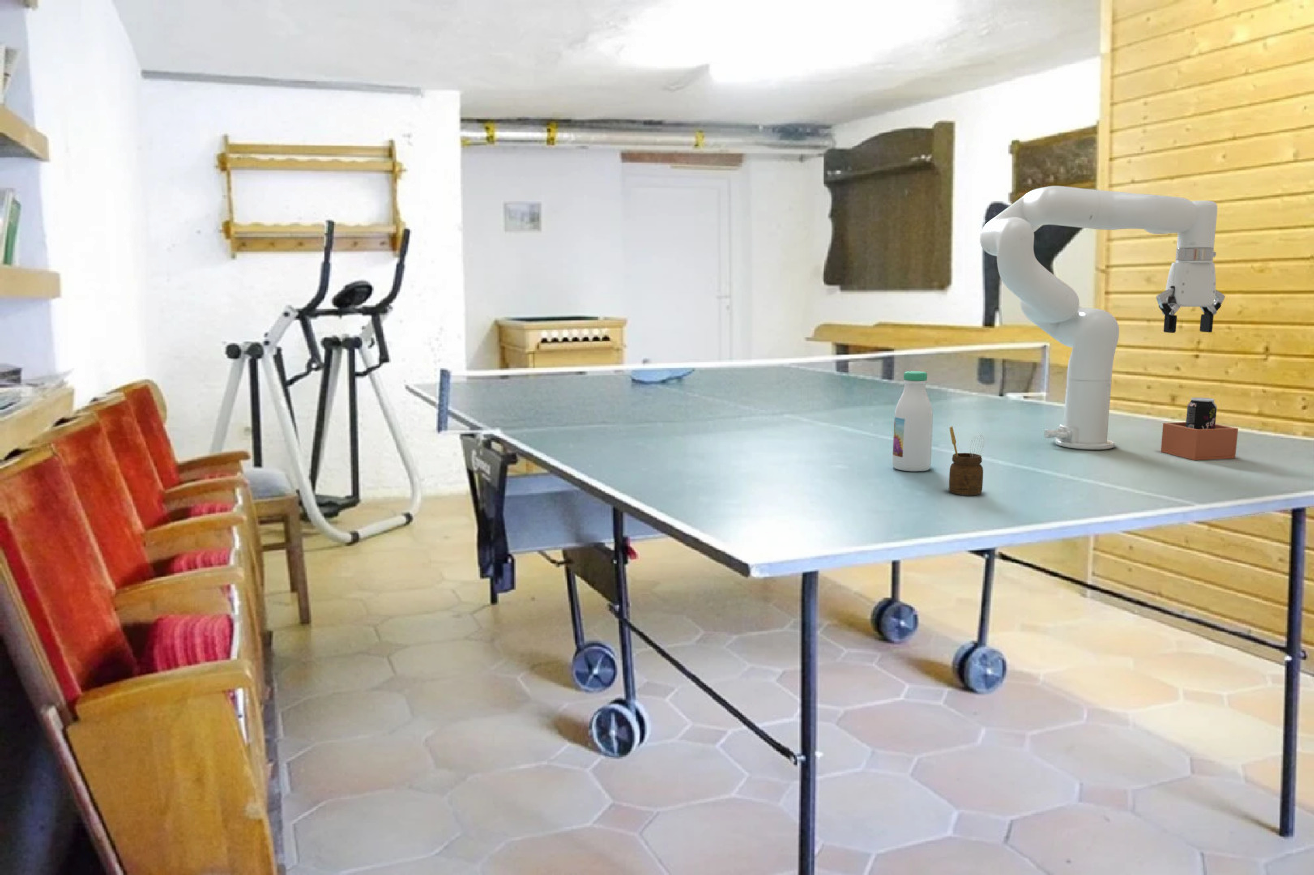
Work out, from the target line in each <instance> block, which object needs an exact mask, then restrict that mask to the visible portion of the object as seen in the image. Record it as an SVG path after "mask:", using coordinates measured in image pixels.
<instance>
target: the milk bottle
mask: <svg viewBox="0 0 1314 875" xmlns="http://www.w3.org/2000/svg"><path fill="white" fill-rule="evenodd" d="M927 380H928V373H927V372H925V371H919V370H917V371H916V370H907V371H905V372H904V373H903V384H904V387H903V390H902V394H901V396H900V398H899V399H898V401H897V403H896V407H895V411H894V417H893V418H894V420H893V437H892V438H893V440H892V462H891V463H892V467H893V468H894V469H896V470H899V471H905V472H925V471H929V470H930V469H931V466H932V452H933V451H932V450H933V427H934V426H933V424H934V423H933V422H934V412H933V407H932V403H931V401H930V398H929V395H928V393H927V389H926V386H927V383H928V382H927Z"/></svg>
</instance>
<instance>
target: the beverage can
mask: <svg viewBox="0 0 1314 875" xmlns="http://www.w3.org/2000/svg"><path fill="white" fill-rule="evenodd" d="M1217 411H1218V406H1217V404H1216V402H1215V399H1214V398H1211V397H1191V398H1190V401H1189V402H1188V403H1187V407H1186V418H1185V422H1186V427H1188V428H1193V429H1215V424H1217V423H1216V421H1217Z"/></svg>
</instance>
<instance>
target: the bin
mask: <svg viewBox="0 0 1314 875" xmlns="http://www.w3.org/2000/svg"><path fill="white" fill-rule="evenodd" d="M1238 434H1239V428H1238V427H1233V426H1229V425H1223V424H1219V423H1215V429H1193V428H1188V427H1186V421H1177V422H1175V421H1174V422H1162V432H1161V444H1160V453H1165V454H1168V455H1171V456H1177V457H1180V458H1184V459H1188V460H1192V461H1206V460H1224V459H1225V460H1226V459H1228V460H1229V459H1236V456H1237V455H1236V454H1237V445H1238Z"/></svg>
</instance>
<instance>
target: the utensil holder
mask: <svg viewBox="0 0 1314 875" xmlns="http://www.w3.org/2000/svg"><path fill="white" fill-rule="evenodd" d="M949 433H950V438H951V443H952V445H953V448H954V452H955V453H953V454H952V458H951V461H952V463H951V465H950V467H949V477H948V489H949V492H950V493H951V494H954V495H957V496H979V495H980V494H982V492H983V486H984V485H983V484H984V467H983V465H982V463H983V457H982V455H981V454H982V451H983V450H984V445H980V444H985V441H986V440H985V438H984V436H983V435H981V434H980V435H978V434H975V437H976V438H977V439H976V440H978V439H979V438H980V440H979V441H978V443H980V444H978V446H977V444H975V443H976V442H975V437H972V438H971V442H970V444H969V447H972V446H974V447H976V446H977V449H976V448H973V450H971V452H958V448H957V438H956V434H955V430H954V427H953V426H950V427H949ZM973 440H974V441H973ZM980 441H981V442H980ZM982 441H983V442H982ZM972 444H973V445H972ZM979 446H980V447H979ZM981 446H982V447H981ZM979 448H980V449H979ZM978 449H979V451H978V453H974V452H975V450H978Z"/></svg>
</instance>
